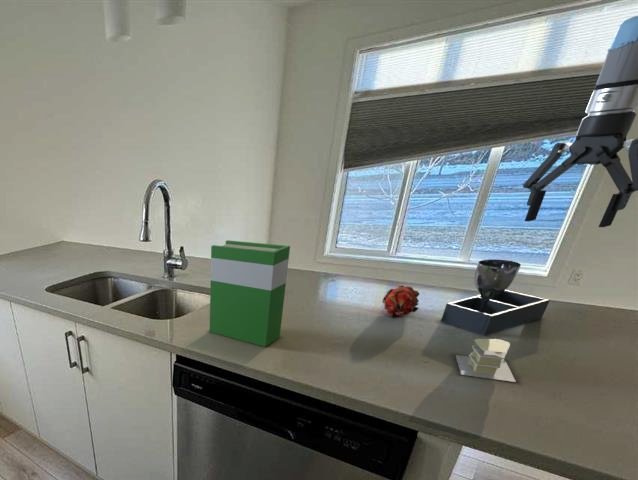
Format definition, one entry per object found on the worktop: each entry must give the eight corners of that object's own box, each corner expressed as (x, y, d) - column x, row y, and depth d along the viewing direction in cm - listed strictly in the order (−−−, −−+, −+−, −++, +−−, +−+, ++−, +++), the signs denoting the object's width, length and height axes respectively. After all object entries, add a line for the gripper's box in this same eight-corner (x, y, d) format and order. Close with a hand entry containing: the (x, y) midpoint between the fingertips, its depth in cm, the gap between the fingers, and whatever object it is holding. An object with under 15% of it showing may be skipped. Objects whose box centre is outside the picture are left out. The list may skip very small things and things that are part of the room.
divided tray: (541, 318, 106) (550, 299, 103) (484, 335, 100) (492, 316, 98) (495, 306, 115) (502, 288, 112) (440, 321, 109) (446, 303, 107)
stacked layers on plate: (515, 382, 82) (527, 358, 79) (460, 374, 86) (469, 351, 83) (505, 361, 89) (515, 338, 86) (455, 355, 93) (463, 333, 90)
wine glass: (492, 316, 107) (514, 259, 100) (501, 328, 101) (525, 268, 94) (455, 314, 110) (474, 259, 103) (462, 325, 104) (483, 267, 97)
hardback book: (209, 331, 116) (211, 245, 104) (224, 323, 120) (227, 240, 108) (265, 346, 105) (274, 252, 93) (279, 337, 109) (290, 245, 97)
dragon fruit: (401, 311, 121) (395, 331, 114) (378, 293, 122) (371, 312, 115) (428, 292, 114) (423, 312, 107) (403, 273, 115) (397, 291, 108)
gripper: (526, 121, 91) (493, 220, 102) (692, 105, 71) (630, 232, 81) (547, 118, 93) (513, 216, 104) (716, 102, 73) (652, 226, 83)
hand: (564, 223), depth 92 cm, fingers open, 13 cm apart
